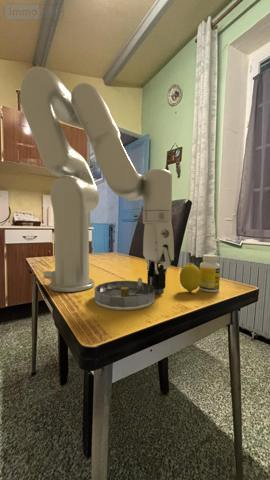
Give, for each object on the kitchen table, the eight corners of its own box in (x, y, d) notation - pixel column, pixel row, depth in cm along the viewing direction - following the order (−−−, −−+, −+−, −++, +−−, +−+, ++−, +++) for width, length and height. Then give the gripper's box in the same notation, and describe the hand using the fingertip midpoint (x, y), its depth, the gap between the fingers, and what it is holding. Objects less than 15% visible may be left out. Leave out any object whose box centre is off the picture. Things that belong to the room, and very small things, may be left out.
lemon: (203, 295, 56) (204, 264, 55) (181, 295, 56) (182, 264, 55) (197, 289, 61) (198, 261, 61) (177, 289, 61) (178, 261, 61)
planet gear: (152, 294, 56) (152, 278, 56) (146, 290, 60) (146, 275, 59) (166, 293, 57) (166, 277, 57) (159, 289, 61) (159, 274, 61)
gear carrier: (85, 308, 46) (85, 285, 46) (105, 289, 60) (105, 271, 60) (151, 313, 44) (151, 288, 44) (156, 292, 58) (156, 274, 58)
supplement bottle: (217, 293, 57) (219, 257, 57) (197, 290, 60) (198, 255, 59) (220, 288, 62) (221, 254, 61) (201, 286, 65) (202, 253, 64)
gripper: (186, 217, 51) (185, 294, 52) (156, 219, 66) (155, 278, 67) (157, 216, 48) (156, 297, 49) (133, 219, 64) (133, 280, 65)
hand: (156, 285), depth 58 cm, fingers closed on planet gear, 3 cm apart
